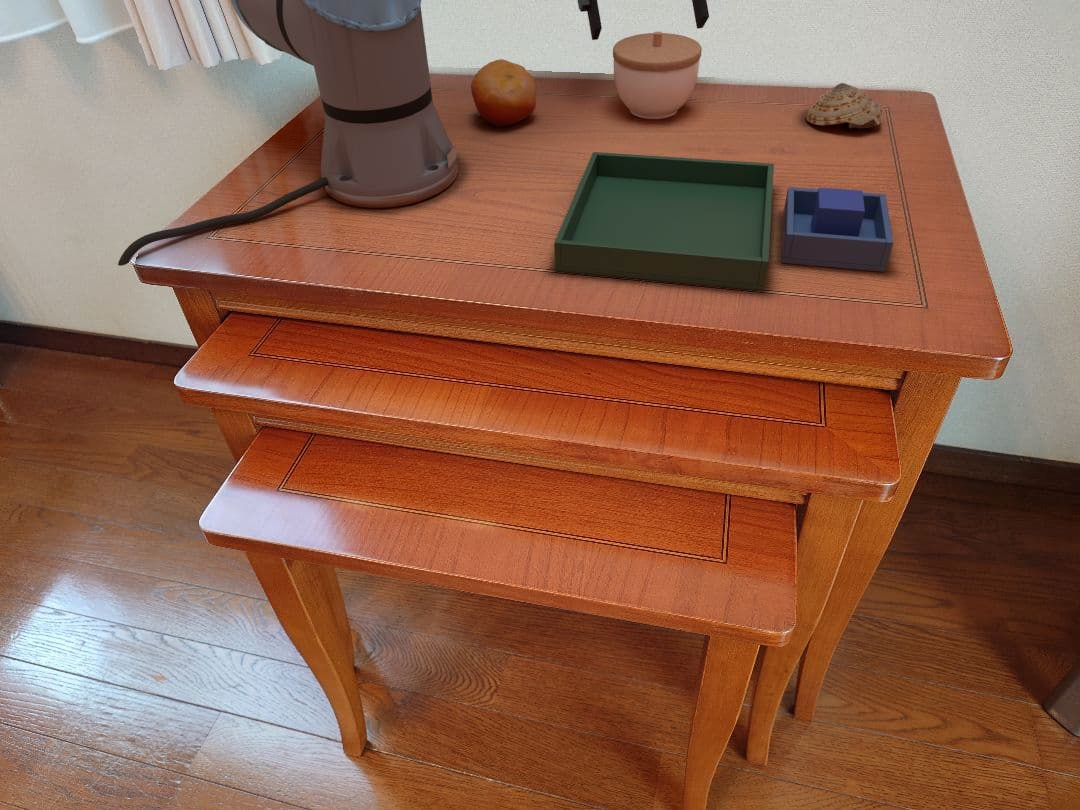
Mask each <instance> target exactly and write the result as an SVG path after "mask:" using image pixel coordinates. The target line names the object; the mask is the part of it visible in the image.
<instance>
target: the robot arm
mask: <svg viewBox="0 0 1080 810" xmlns="http://www.w3.org/2000/svg"><path fill="white" fill-rule="evenodd" d="M229 1H230V4H231V6H232V8H233V10H234V12H235V13H236V15H237V17H238V18H239V19H240V21H241V23H242V24H243V25H244V26H245V27H246V28H247V29H248V30H249V31H250V32H251V33H252V34H253V35H255V36H256V38H258V39H260V40H261V41H262V42H264V43H265V44H266V45H267V46H269V47H271V48H273V49H274V50H277V51H279V52H283V53H285V54H288V55H291V56H292V57H294V58H296V59H298V60H300V61H302V62H304V63H306V64H308V65H311V66H313V69H314V73H315V78H316V83H317V86H318V90H319V95H320V99H321V104H322V108H323V113H324V129H323V136H322V137H323V139H322V148H321V157H320V159H321V160H320V172H321V173H320V174H321V178H320V179H317V180H314V181H313V182H311V183H308V184H306V185H304V186H302V187H299V188H297V189H295V190H293V191H291V192H288V193H286V194H284V195H283V196H280V197H279V198H277V199H275V200H273V201H271V202H269V203H267V204H265V205H263V206H260V207H257V208H255V209H253V210H250V211H249V210H248V211H246V212H241V213H233V214H226V215H221V216H218V217H213V218H209V219H206V220H201V221H198V222H195V223H192V224H188V225H184V226H180V227H175V228H174V227H173V228H168V229H162V230H158V231H154V232H151V233H148V234H145V235H143V236H141V237H139V238H138V239H136V240H134V241H133V242H132V243H130V244H129V246H127V248H126V249H125V250H124V251H123V253H122V254H121V256H120V258H119V260H118V262H117V266H118V267H120V266H121V267H122V266H125V265H127V264H129V263H130V261H131V260H132V259H133V257H134V256H135V255H136V254H137V252H139V251H140V250H141V249H143V248H144V247H145V246H148V245H149V244H152V243H154V242H155V243H156V242H158V241H162V240H167V239H173V238H177V237H183V236H187V235H191V234H192V235H193V234H195V233H198V232H201V231H204V230H208V229H212V228H216V227H220V226H225V225H230V224H236V223H243V222H249V221H253V220H256V219H259V218H261V217H264V216H266V215H268V214H270V213H272V212H275V211H277V210H278V209H281V208H282V207H284V206H285V205H288V204H290V203H292V202H293V201H296V200H298V199H300V198H302V197H305V196H306V195H310V194H311V193H314V192H315V191H318V190H320V189H324V190H325V192H326V193H327V194H328V196H330V197H331V198H333V199H334V200H336V201H338V202H339V203H340V202H341V203H343V204H345V205H349V206H355V207H360V208H369V209H370V208H371V209H373V208H375V209H377V208H379V209H380V208H382V209H383V208H393V207H401V206H407V205H411V204H414V203H418V202H422V201H424V200H427V199H429V198H432V197H434V196H435V195H438V194H440V193H442V192H443V191H445V190H446V189H447V188H448V187H450V186H451V185H452V184H453V182H454V181H455V180H456V178H457V175H458V172H459V170H458V169H459V168H458V159H457V148H456V144H454V145H453V143H452V141H451V138H450V137H449V135H448V133H447V130H446V128H445V126H444V124H443V122H442V119H441V117H440V115H439V113H438V111H437V109H436V107H435V104H434V99H433V92H432V86H431V78H430V77H431V76H430V69H429V61H428V53H427V45H426V44H427V43H426V37H425V29H424V21H423V14H422V6H421V5H422V0H229ZM691 3H692V8H693V12H694V13H693V14H694V19H695V25H696V29H704V27H705V25H706V23H707V22H708V20H709V18H710V12H709V7H708V6H709V5H708V0H691ZM577 7H578V10H579V11H580V12H581V13H582V12H587V13H586V14H587V18H588V24H589V30H590V37H591V40H592V41H597V40H599V37H600V35H601V31H602V29H603V28H602V27H603V26H602V21H601V14H600V9H599V8H600V7H599V4H598V0H577Z"/></svg>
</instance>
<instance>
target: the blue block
mask: <svg viewBox="0 0 1080 810" xmlns="http://www.w3.org/2000/svg"><path fill="white" fill-rule="evenodd" d="M817 189H818V193H817V198H816V202H815V207H814V212H813V217H812V221H811V233H818V234H830V235H843V236H855V237H858V236H859V232H860V228H861V225H862V221H863V217H864V213H865V208H864V199H863V193H864V191H863V190H859V189H846V188H845V189H844V188H832V187H831V188H830V187H818V188H817Z"/></svg>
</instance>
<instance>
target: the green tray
mask: <svg viewBox="0 0 1080 810" xmlns="http://www.w3.org/2000/svg"><path fill="white" fill-rule="evenodd" d="M774 170H775V163H770V162H755V161H754V162H753V161H741V160H740V161H739V160H738V161H737V160H722V159H710V158H709V159H708V158H707V159H706V158H691V157H690V158H689V157H679V156H678V157H676V156H662V155H661V156H660V155H647V154H645V155H644V154H630V153H614V152H597V151H593V152H592V153H591V156H590V158H589V160H588V163H587V165H586V167H585V170H584V172H583V174H582V176H581V179H580V181H579V183H578V186H577V188H576V191H575V192H574V196H573V198H572V200H571V203H570V205H569V207H568V209H567V211H566V214H565V217H564V219H563V221H562V224H561V226H560V228H559V230H558V233H557V236H556V238H555V240H554V242H553V243H554V244H553V246H554V271H555V272H564V273H572V274H574V273H575V274H584V275H593V276H595V275H596V276H605V277H616V278H624V279H625V278H627V279H635V280H648V281H656V282H657V281H658V282H667V283H676V284H688V285H698V286H708V287H709V286H710V287H719V288H731V289H739V290H740V289H741V290H752V291H761V292H763V291H764V290H765V285H766V279H767V274H768V267H769V262H770V261H769V260H770V244H771V228H772V227H771V225H772V223H771V222H772V211H773V210H772V207H773V190H774V189H773V188H774V172H775V171H774Z"/></svg>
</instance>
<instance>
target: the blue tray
mask: <svg viewBox="0 0 1080 810" xmlns="http://www.w3.org/2000/svg"><path fill="white" fill-rule="evenodd" d="M817 193H818V188H804V187H792V186H791V187H790V186H788V187H787V191H786V197H785V202H784V208H783V213H782V234H781V235H782V236H781V264H789V265H790V264H791V265H801V266H812V267H825V268H826V267H827V268H836V269H847V270H857V271H869V272H881V273H885V272H886V270H887V266H888V263H889V260H890V256H891V253H892V249H893V246H894V238H893V233H892V231H893V230H892V226H891V220H890V213H889V206H888V200H887V195H886V193H875V192H863V199H864V208H865V213H864V217H863V221H862V225H861V228H860V232H859V236H858V237H855V236H843V235H830V234H818V233H811V221H812V217H813V212H814V207H815V202H816V198H817Z"/></svg>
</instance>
